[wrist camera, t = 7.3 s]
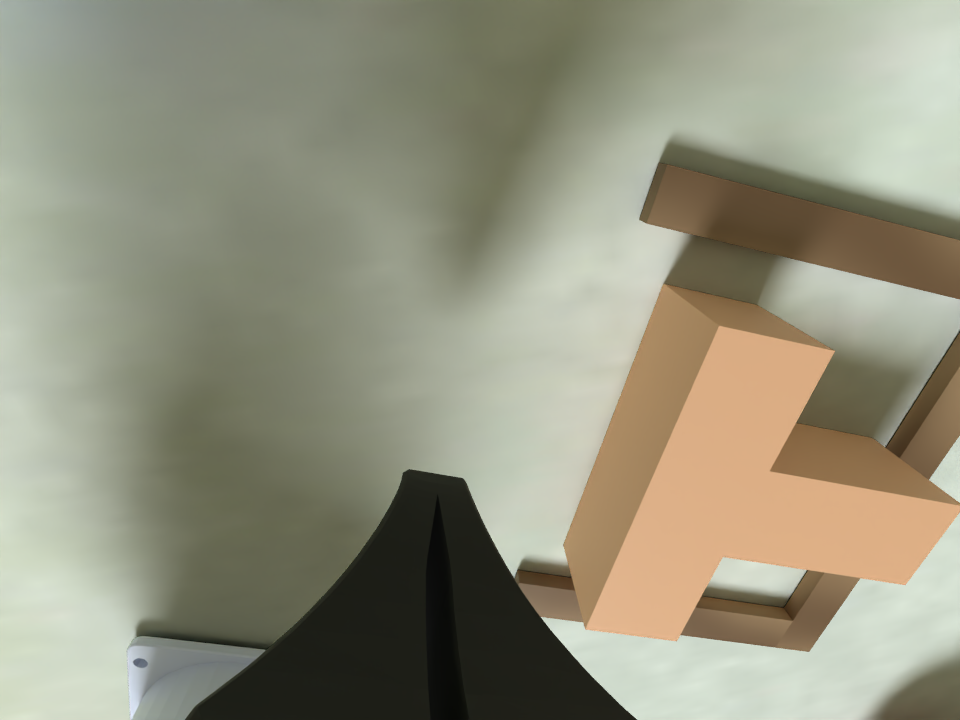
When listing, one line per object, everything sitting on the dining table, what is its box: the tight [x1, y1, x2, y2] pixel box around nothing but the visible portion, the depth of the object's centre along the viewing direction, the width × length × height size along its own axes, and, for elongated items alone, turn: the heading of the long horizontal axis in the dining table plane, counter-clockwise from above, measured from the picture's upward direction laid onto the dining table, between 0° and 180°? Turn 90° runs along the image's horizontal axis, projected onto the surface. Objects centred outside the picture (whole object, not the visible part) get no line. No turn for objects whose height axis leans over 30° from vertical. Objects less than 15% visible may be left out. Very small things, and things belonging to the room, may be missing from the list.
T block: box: [563, 284, 960, 641], centre depth 16 cm, size 9×10×4 cm
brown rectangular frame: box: [515, 163, 960, 652], centre depth 17 cm, size 16×12×1 cm
